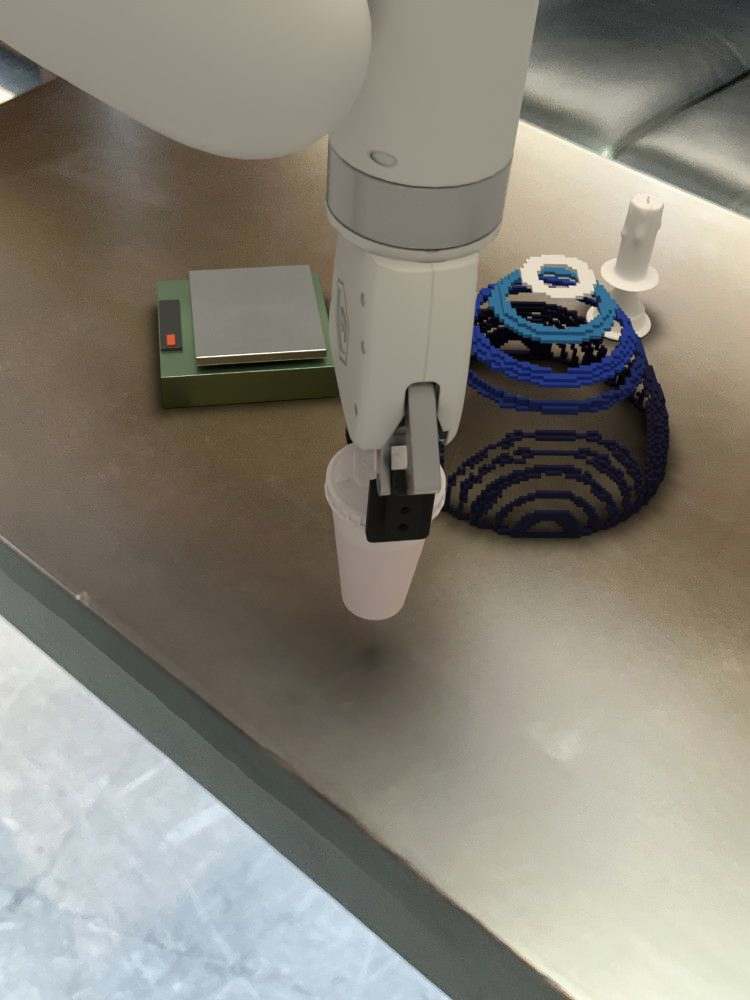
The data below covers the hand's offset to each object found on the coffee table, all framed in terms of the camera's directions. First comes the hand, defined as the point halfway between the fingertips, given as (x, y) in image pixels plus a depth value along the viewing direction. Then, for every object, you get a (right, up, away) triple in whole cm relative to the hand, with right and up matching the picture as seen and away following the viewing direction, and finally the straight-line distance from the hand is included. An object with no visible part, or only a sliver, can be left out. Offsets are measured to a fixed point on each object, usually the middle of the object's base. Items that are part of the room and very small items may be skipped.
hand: (385, 485), depth 60 cm
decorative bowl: (+11, +4, +25) cm, 27 cm away
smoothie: (-1, -6, +7) cm, 9 cm away
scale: (-11, +11, +30) cm, 34 cm away
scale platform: (-10, +13, +28) cm, 32 cm away
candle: (+20, +14, +35) cm, 43 cm away
